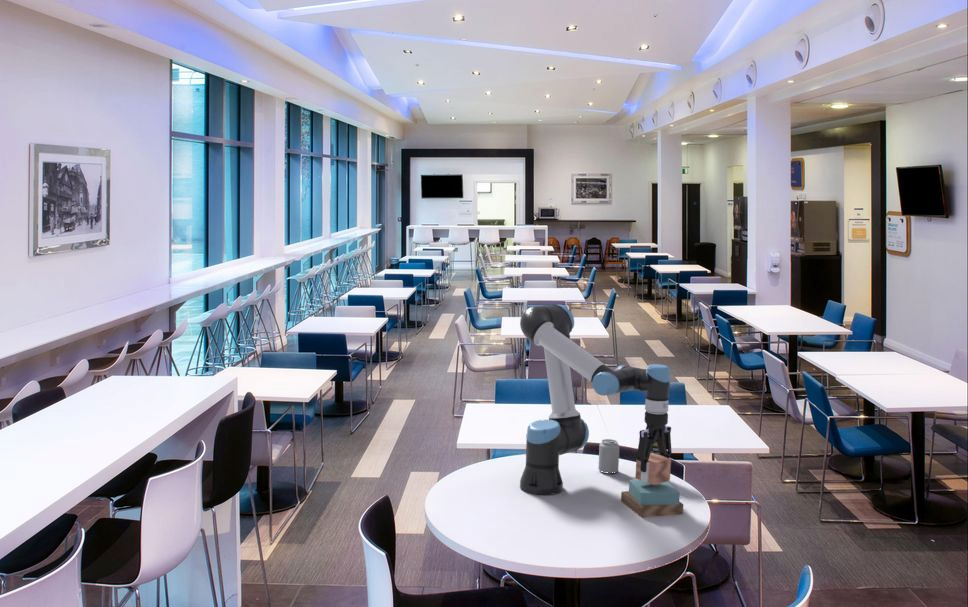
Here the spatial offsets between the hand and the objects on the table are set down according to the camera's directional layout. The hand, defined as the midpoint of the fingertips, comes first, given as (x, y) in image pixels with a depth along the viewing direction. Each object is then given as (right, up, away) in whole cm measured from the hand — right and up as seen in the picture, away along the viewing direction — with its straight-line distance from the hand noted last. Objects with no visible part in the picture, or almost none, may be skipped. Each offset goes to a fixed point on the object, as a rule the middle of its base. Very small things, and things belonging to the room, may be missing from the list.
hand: (653, 478), depth 261 cm
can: (-9, -6, +38) cm, 39 cm away
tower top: (0, -6, 0) cm, 6 cm away
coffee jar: (+6, -7, +31) cm, 32 cm away
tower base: (0, -10, +1) cm, 10 cm away
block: (0, 0, 0) cm, 0 cm away
